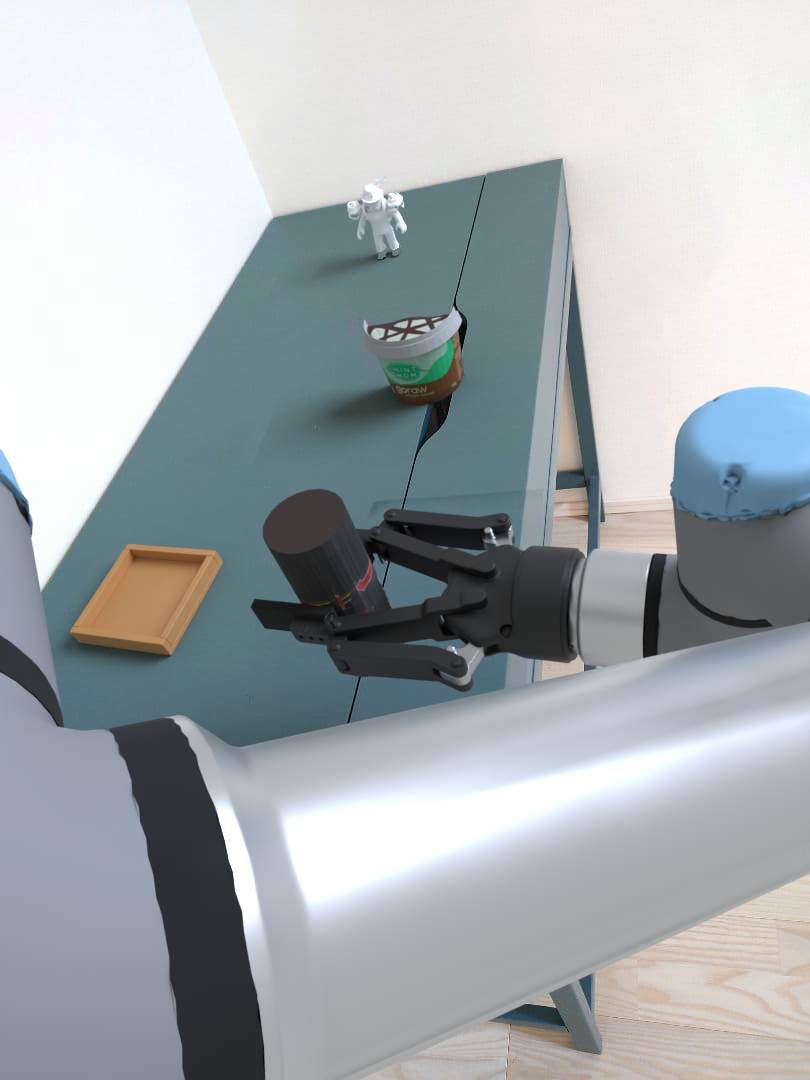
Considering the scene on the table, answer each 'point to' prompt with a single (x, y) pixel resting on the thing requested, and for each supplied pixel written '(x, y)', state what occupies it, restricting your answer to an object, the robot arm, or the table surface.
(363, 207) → the blocky character figurine
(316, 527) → the deodorant
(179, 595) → the serving tray
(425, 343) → the food container
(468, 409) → the table surface
